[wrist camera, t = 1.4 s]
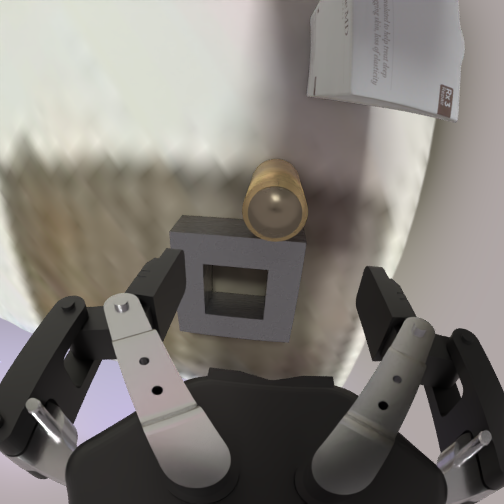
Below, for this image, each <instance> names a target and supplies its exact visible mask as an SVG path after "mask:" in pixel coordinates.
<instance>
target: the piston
mask: <svg viewBox="0 0 504 504" xmlns="http://www.w3.org/2000/svg"><path fill="white" fill-rule="evenodd" d="M242 214H243V219H244V222H245V224H246V226H247V227H248V229H249V230H250V231H251V232H252V233H253V234H254V235H256V236H257V237H259V238H261V239H264V240H267V241H273V242H278V241H284V240H287V239H290V238H292V237H293V236H295V235H296V234H298V233H299V232H300V231H301V230H302V228H303V227H304V225H305V223H306V220H307V216H308V206H307V202H306V198H305V195H304V192H303V188H302V185H301V182H300V178H299V175H298V173H297V171H296V169H295V168H294V167H293V166H292V165H291V164H290V163H288V162H286V161H284V160H281V159H271V160H267V161H265V162H263V163H261V164H260V165H259V166H258V167H257V168H256V170H255V171H254V174H253V176H252V179H251V182H250V185H249V188H248V191H247V194H246V197H245V199H244V203H243V208H242Z"/></svg>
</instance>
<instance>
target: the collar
mask: <svg viewBox="0 0 504 504" xmlns="http://www.w3.org/2000/svg"><path fill="white" fill-rule="evenodd" d="M169 233H170V245H171V249H181V250H183V251H184V254H185V269H186V289H185V293H184V295H183V298H182V300H181V302H180V304H179V306H178V309H177V312H178V319H179V327H180V331H185V332H192V333H199V334H207V335H215V336H223V337H232V338H241V339H252V340H263V341H275V342H289V339H290V334H291V329H292V324H293V319H294V313H295V308H296V303H297V297H298V291H299V286H300V280H301V274H302V268H303V262H304V256H305V250H306V238H305V233H304V227H303V228H302V230H301V231H300V232H299V233H298V234H296V235H295V236H293V237H292V238H290V239H287V240H284V241H278V242H273V241H267V240H264V239H261V238H259V237H257V236H256V235H254V234H253V233H252V232H251V231H250V230H249V229H248V227H247V226H246V224H245V222H244V220H243V219H230V218H216V217H202V216H187V215H182V216H181V218H180V219H179V220H178V221H177V223H176V224H175V225H174V226H173V228H172V229H171V230H170V232H169ZM212 265H219V266H230V267H241V268H252V269H263V270H268V273H267V283H266V293H265V296H254V295H243V294H233V293H223V292H213V291H212Z"/></svg>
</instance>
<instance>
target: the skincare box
mask: <svg viewBox="0 0 504 504" xmlns="http://www.w3.org/2000/svg"><path fill="white" fill-rule="evenodd" d="M310 28H311V51H310V67H309V78H308V86H307V96H308V97H314V98H322V99H329V100H336V101H343V102H349V103H356V104H362V105H368V106H375V107H382V108H389V109H395V110H400V111H406V112H411V113H416V114H421V115H425V116H430V117H434V118H439V119H443V120H447V121H451V122H457V120H458V110H459V95H460V74H461V73H460V72H461V71H460V70H461V64H462V61H463V57H464V51H465V50H464V49H465V44H464V37H463V34H462V31H461V27H460V17H459V3H458V0H320V1H319V3H318V5H317V7H316V9H315V10H314V12H313V14H312V16H311V18H310Z"/></svg>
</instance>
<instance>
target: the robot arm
mask: <svg viewBox="0 0 504 504" xmlns="http://www.w3.org/2000/svg"><path fill="white" fill-rule="evenodd" d="M185 289H186V269H185V254H184V251H183V250H181V249H170V248H167V249H165V251H164V252H163V254H162V255H161V256H160V258H154V259H152V260H151V261H149V262H147V263H146V264H145V266H144V267H143V268H142V270H141V271H140V272H139V274H138V275H137V277H136V278H135V279H134V281H133V282H132V283H131V285H130V286H129V287H128V289H127V290H126V292H125V293H120V294H116V295H114V296H112V297H110V298H109V299H107V300H106V302H105V303H104V306H98V307H86V305H85V301H84V300H83V299H82V298H81V297H79V296H68V297H65V298H63V299H61V300H59V301H58V302H57V303H56V304H55V305H54V307H53V308H52V309H51V310H50V312H49V313H48V314H47V316H46V317H45V318H44V320H43V321H42V322H41V324H40V325H39V326H38V328H37V329H36V330H35V332H34V333H33V335H32V336H31V337H30V339H29V340H28V342H27V343H26V345H25V346H24V347H23V349H22V351H21V352H20V353H19V355H18V356H17V358H16V359H15V361H14V363H13V364H12V366H11V367H10V369H9V370H8V372H7V373H6V375H5V377H4V378H3V380H2V381H1V383H0V451H1V452H2V453H3V454H4V455H5V456H6V457H8V458H9V459H10V460H11V461H13V462H14V463H15V464H17V465H18V466H19V467H21V468H22V469H24V470H26V471H28V472H29V473H30V474H32V475H33V476H35V477H37V478H39V479H47V478H50V479H52V480H54V481H56V482H58V483H60V484H62V485H64V486H66V487H67V492H68V500H69V504H474V503H477V502H478V501H480V500H482V499H484V498H486V497H487V496H489V495H491V494H493V493H494V492H496V491H498V490H499V489H501V488H502V487H504V391H503V389H502V387H501V385H500V382H499V380H498V378H497V376H496V374H495V372H494V370H493V368H492V365H491V363H490V361H489V360H488V358H487V356H486V354H485V352H484V350H483V348H482V346H481V344H480V342H479V340H478V339H477V337H476V336H475V335H474V334H473V333H472V332H470V331H468V330H466V329H461V328H459V329H456V330H454V331H453V333H452V335H451V337H446V336H441V335H437V334H435V330H434V328H433V326H431V324H430V323H429V322H427V321H426V320H424V319H422V318H418V317H416V315H415V313H414V311H413V309H412V307H411V305H410V303H409V302H408V300H407V298H406V296H405V295H404V294H403V291H402V289H401V287H400V286H399V285H398V284H397V283H396V282H395V281H394V280H393V279H389V278H388V276H387V274H386V272H385V270H384V269H383V268H382V267H373V266H366V267H365V269H364V272H363V276H362V279H361V283H360V286H359V290H358V293H357V297H356V308H357V311H358V314H359V318H360V321H361V324H362V327H363V330H364V334H365V337H366V340H367V344H368V347H369V351H370V354H371V358H372V361H381V362H380V364H379V366H378V367H377V369H376V371H375V372H374V374H373V375H372V377H371V379H370V380H369V382H368V383H367V385H366V386H365V388H364V389H363V391H362V392H361V394H360V395H359V396H358V395H356V394H354V393H353V392H351V391H349V390H346V389H344V388H341V387H338V386H334V381H333V377H329V376H299V377H293V378H287V379H280V380H268V379H264V378H261V377H257V376H254V375H251V374H247V373H244V372H241V371H234V370H225V369H217V368H209V372H208V376H204V377H197V378H193V379H189V380H186V381H184V382H183V380H182V378H181V376H180V374H179V373H178V371H177V369H176V367H175V365H174V363H173V362H172V360H171V358H170V356H169V354H168V352H167V350H166V348H165V346H164V344H163V341H164V338H165V336H166V334H167V331H168V329H169V327H170V324H171V322H172V320H173V318H174V315H175V313H176V311H177V309H178V306H179V304H180V302H181V300H182V298H183V295H184V293H185ZM69 348H70V351H69V353H68V354H67V356H66V358H65V359H64V357H65V355H66V353H67V351H68V349H69ZM105 359H117V360H118V363H119V366H120V369H121V372H122V375H123V378H124V381H125V384H126V386H127V389H128V392H129V395H130V397H131V400H132V402H133V405H134V407H135V410H136V411H135V412H134V413H132V414H130V415H129V416H127V417H126V418H124V419H122V420H121V421H119V422H117V423H116V424H114V425H112V426H111V427H109V428H107V429H106V430H104V431H102V432H101V433H99V434H97V435H95V436H94V437H92V438H90V439H89V440H87V441H85V442H84V443H82V444H80V445H79V446H78V447H77V445H76V444H77V439H78V435H77V431H76V428H75V427H74V425H73V424H74V421H75V419H76V417H77V414H78V412H79V409H80V407H81V405H82V403H83V400H84V398H85V396H86V393H87V391H88V389H89V387H90V384H91V382H92V380H93V378H94V376H95V374H96V372H97V370H98V367H99V365H100V363H101V361H102V360H105ZM458 378H460V380H461V383H462V385H463V395H462V398H461V396H460V393H459V391H458V388H457V385H456V381H457V380H458ZM419 385H424V388H425V391H426V395H427V398H428V402H429V405H430V409H431V413H432V417H433V421H434V425H435V429H436V433H437V437H438V442H439V447H440V451H441V454H440V456H439V457H438V460H437V465H436V464H434V463H433V462H432V461H431V460H430V459H429V458H427V457H426V456H425V455H424V454H423V453H422V452H421V451H419V450H418V449H417V448H416V447H415V446H414V445H413V444H411V443H410V442H409V441H408V440H407V439H406V438H405V437H404V436H403V435H401V434H400V433H399V432H398V431H399V429H400V427H401V425H402V423H403V421H404V419H405V417H406V415H407V413H408V411H409V409H410V406H411V404H412V402H413V400H414V397H415V395H416V393H417V390H418V388H419Z"/></svg>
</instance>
